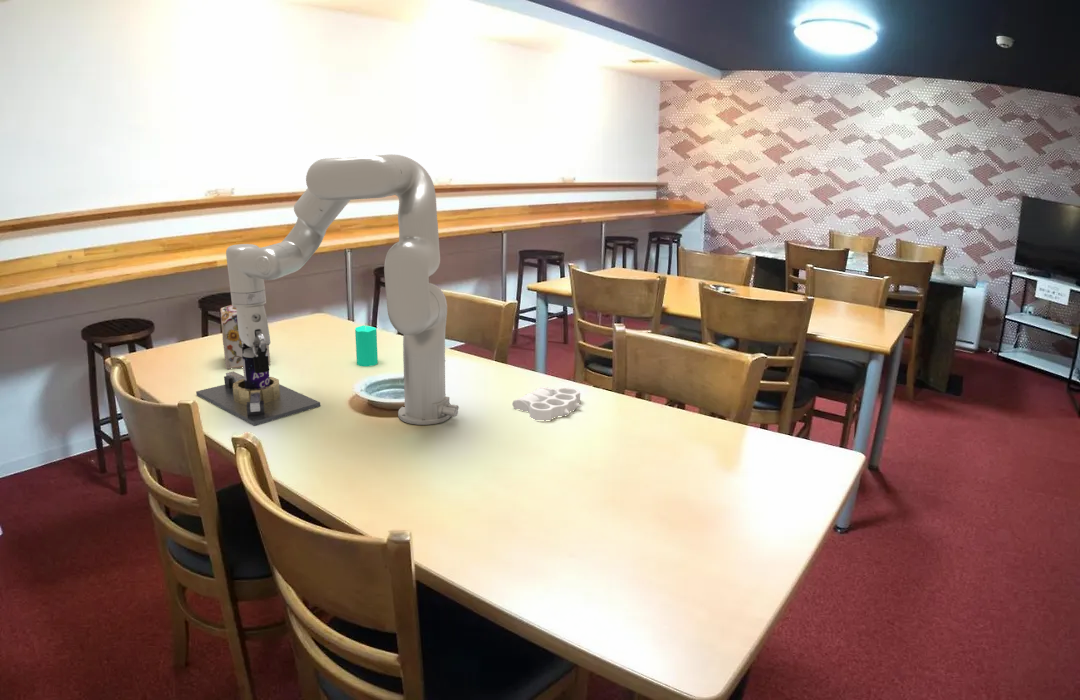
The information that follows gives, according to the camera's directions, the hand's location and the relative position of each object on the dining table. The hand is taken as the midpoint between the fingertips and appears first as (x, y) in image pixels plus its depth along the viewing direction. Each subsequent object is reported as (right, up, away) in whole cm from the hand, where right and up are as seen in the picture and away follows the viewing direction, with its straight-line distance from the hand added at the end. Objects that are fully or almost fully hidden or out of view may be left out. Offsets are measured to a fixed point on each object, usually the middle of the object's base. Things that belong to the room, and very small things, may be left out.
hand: (256, 366), depth 169 cm
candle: (+19, 0, +33) cm, 38 cm away
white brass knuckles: (+71, -11, +4) cm, 72 cm away
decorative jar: (-15, 0, +31) cm, 35 cm away
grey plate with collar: (-1, -8, +3) cm, 9 cm away
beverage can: (0, -8, +2) cm, 8 cm away
